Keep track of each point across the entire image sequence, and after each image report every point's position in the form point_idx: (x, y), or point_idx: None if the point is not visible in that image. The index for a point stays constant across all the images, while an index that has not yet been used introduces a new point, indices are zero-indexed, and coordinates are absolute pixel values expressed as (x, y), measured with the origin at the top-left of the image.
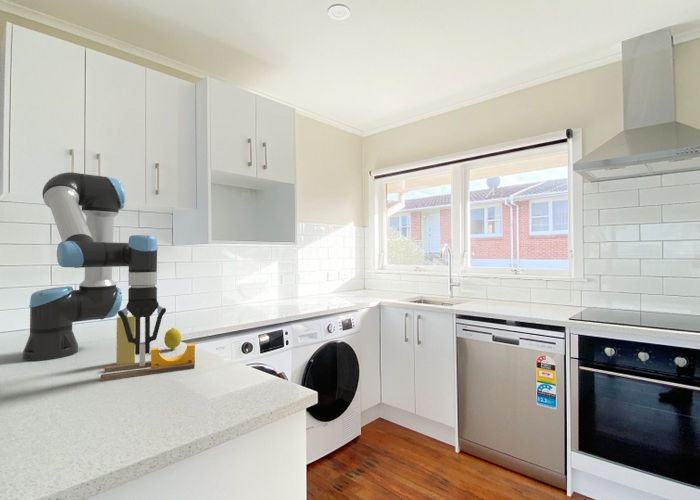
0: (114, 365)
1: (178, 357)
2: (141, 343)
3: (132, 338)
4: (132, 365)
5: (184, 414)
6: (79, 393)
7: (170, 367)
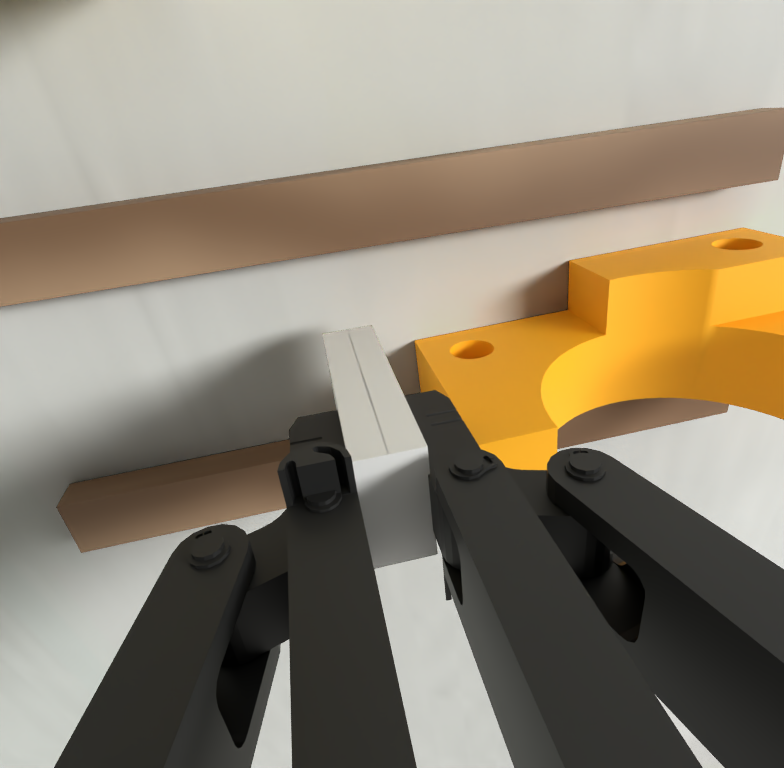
0: (15, 225)
1: (669, 332)
2: (385, 530)
3: (269, 657)
4: (233, 264)
5: None
6: (86, 694)
7: (567, 445)
